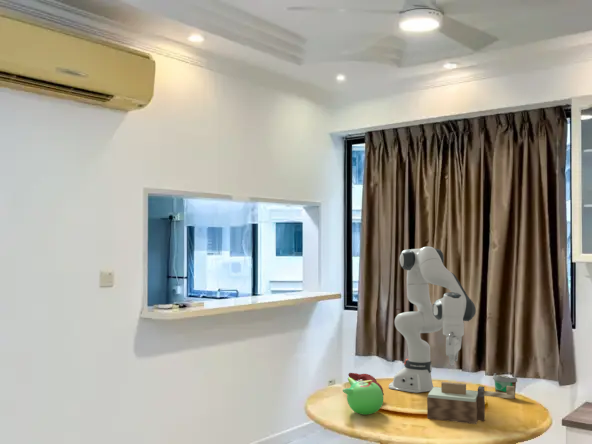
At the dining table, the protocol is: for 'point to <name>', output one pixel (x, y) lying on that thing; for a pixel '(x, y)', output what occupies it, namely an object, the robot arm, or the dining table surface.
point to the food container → (503, 382)
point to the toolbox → (457, 409)
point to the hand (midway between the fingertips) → (453, 363)
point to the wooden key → (509, 393)
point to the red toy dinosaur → (364, 378)
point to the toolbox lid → (453, 392)
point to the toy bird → (364, 396)
